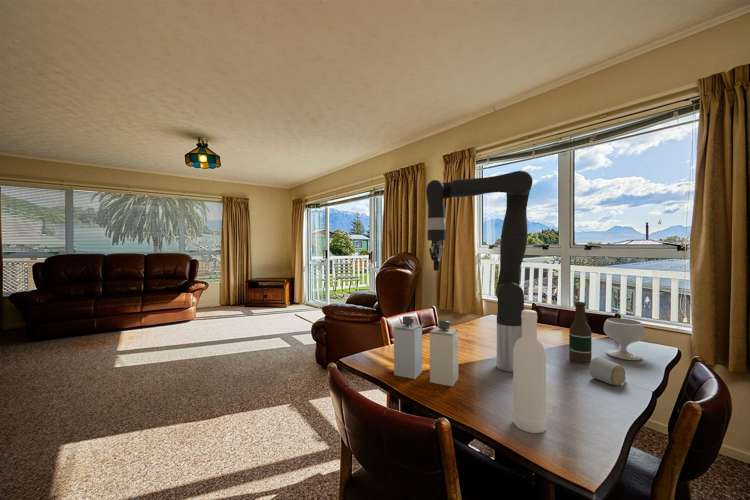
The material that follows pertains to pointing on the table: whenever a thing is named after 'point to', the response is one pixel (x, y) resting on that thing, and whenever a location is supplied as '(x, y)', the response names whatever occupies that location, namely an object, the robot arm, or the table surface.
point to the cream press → (444, 356)
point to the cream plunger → (444, 324)
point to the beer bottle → (580, 337)
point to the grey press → (408, 350)
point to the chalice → (624, 336)
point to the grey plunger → (408, 320)
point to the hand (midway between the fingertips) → (436, 270)
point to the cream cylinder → (607, 371)
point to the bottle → (529, 377)
